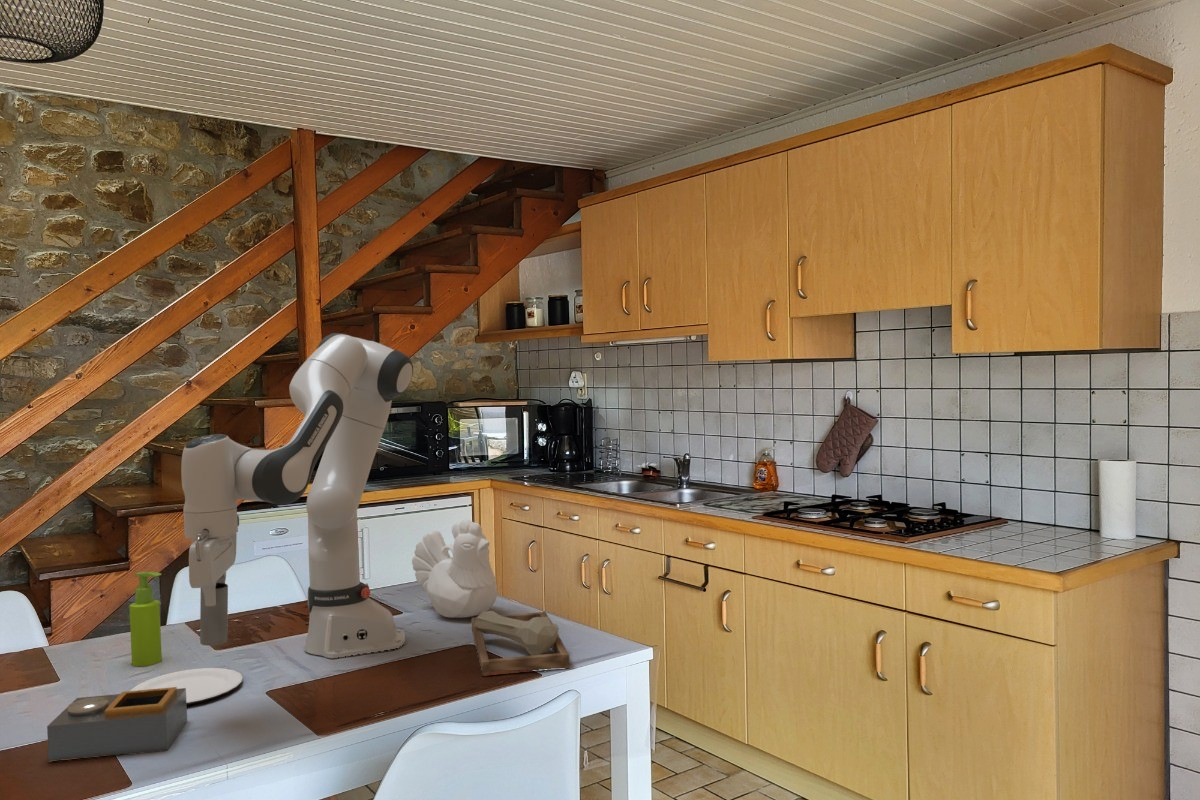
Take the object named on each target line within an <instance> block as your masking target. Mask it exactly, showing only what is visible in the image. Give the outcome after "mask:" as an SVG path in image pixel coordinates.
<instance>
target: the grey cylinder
mask: <svg viewBox="0 0 1200 800" xmlns="http://www.w3.org/2000/svg"><path fill="white" fill-rule="evenodd" d="M215 588H216V594H217V600H218V602H217V603H216V605H215V606H206V605H205V597H204V594H203V591H202V588H200V601H199V602H200V604H199V607H200V610H199V612H200V613H199V614H200V617H199V618H200V620H199V622H200V625H199V627H200V628H199V643H200V645H202V646H206V647H207V646H218V645H223V644H226V643H227V642H228V629H229V628H228V625H229V624H228V622H229V621H228V619H229V618H228V615H229V614H228V613H229V610H228V609H229V606H228V605H229V604H228V603H229V600H228V599H229V585H228V584H227V583H226V582H225V583H216V586H215Z"/></svg>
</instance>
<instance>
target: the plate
mask: <svg viewBox="0 0 1200 800" xmlns="http://www.w3.org/2000/svg"><path fill="white" fill-rule="evenodd" d="M243 678H244V677H243V676H242V673H240V672H239V671H236V670H234V669H230V668H221V667H219V668H218V667H205V668H204V667H203V668H193V669H192V668H191V669H185V670H180V671H174V672H170V673H166V674H163V675H159V676H155V677H152V678H150V679H147V680H145V681H143V682H141V683H139V684H137V685H136V686H134V687H133V688H131V689H130V690H129V691H137V690H148V689H159V688H171V687H177V689H181V688H186V703H187V705H191V704H196V703H197V704H198V703H200V702H205V701H207V700H208V701H209V700H211V699H216V698H218V697H220V696H223V695H225V694H228V693H230V692H231V691H233V690H235V689H236V688H237V687H238V686H239V685H241V684H242V682H243V680H244V679H243Z"/></svg>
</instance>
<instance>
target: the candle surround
mask: <svg viewBox="0 0 1200 800" xmlns="http://www.w3.org/2000/svg"><path fill="white" fill-rule="evenodd" d="M499 615H500V614H499ZM500 616H502V617H507V618H512V619H517V620H521V621H529V620H531V619H532V618H535V617H549V616H548V613H547V612H546V611H539V612H525V613H516V614H514V613H513V614H503V615H500ZM477 617H478V616H474V617H471V632H472V636H474V637H473V641H475V642H474V645H476V646H475V650H476V649H477V651H476V654H477V653H478V655H477V658H478V657H479V660H478V663H479V662H480V665H479V667H480V666H481V669H480V671H481V670H482V673H484V672H495V671H504V670H519V669H524V670H525V669H528V670H539V669H551V668H569V669H570V655H569V654H570V653H569V652H568V650H567V648H566V647H565V645H564V643H563V641H562V640H561V637H560V636H559V634H558V633H557V637H556V641H555V644H554V645H553V646H552V648H551V650H552V652H553V651H554V652H553V653H546V654H539V655H532V656H531V655H523V656H522V655H521V656H513V657H501V658H489V656H488V652H487V649H486V643H485V641H484V637H483V632H481V630H479V629H477V628H476V627H475V626H474V625H475V620H476V618H477Z"/></svg>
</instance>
